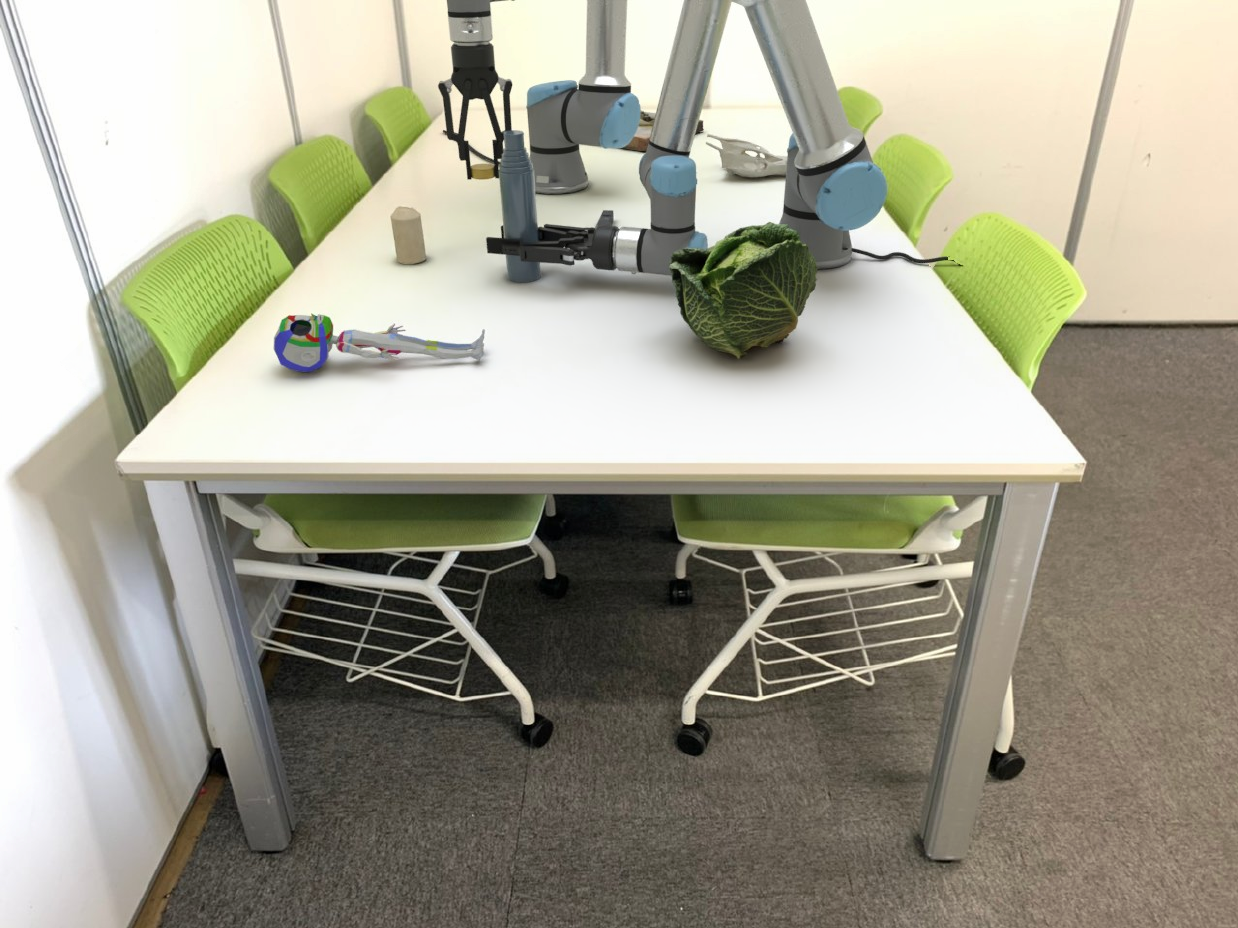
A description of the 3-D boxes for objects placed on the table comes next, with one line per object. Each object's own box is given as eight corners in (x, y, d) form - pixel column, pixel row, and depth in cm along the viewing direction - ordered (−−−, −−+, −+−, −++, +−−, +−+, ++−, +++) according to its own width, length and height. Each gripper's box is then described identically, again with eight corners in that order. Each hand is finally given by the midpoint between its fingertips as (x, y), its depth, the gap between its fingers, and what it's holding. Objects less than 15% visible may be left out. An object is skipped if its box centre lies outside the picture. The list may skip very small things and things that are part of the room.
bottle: (539, 269, 167) (529, 127, 153) (542, 281, 162) (533, 135, 148) (506, 271, 166) (494, 129, 153) (508, 283, 161) (496, 137, 148)
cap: (466, 176, 171) (465, 166, 170) (487, 172, 173) (486, 162, 172) (479, 181, 168) (478, 170, 167) (500, 177, 170) (499, 166, 169)
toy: (484, 341, 128) (264, 324, 124) (481, 394, 133) (269, 379, 128) (485, 314, 137) (280, 296, 132) (482, 364, 141) (284, 349, 136)
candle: (431, 256, 173) (424, 204, 168) (417, 265, 169) (409, 213, 164) (406, 253, 175) (399, 202, 170) (391, 262, 171) (383, 210, 165)
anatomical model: (708, 130, 224) (809, 129, 220) (707, 168, 229) (806, 167, 225) (703, 145, 212) (811, 144, 208) (703, 184, 216) (808, 183, 213)
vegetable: (704, 370, 145) (643, 264, 138) (800, 304, 147) (745, 195, 139) (754, 397, 127) (686, 277, 119) (863, 321, 128) (804, 197, 121)
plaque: (647, 125, 237) (559, 112, 252) (647, 153, 241) (560, 139, 256) (706, 107, 258) (622, 97, 273) (705, 133, 262) (622, 121, 277)
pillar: (613, 210, 190) (600, 241, 173) (613, 220, 191) (600, 251, 174) (603, 210, 190) (589, 240, 173) (603, 220, 191) (589, 251, 174)
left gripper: (420, 46, 154) (435, 184, 167) (522, 44, 156) (530, 180, 169) (422, 41, 161) (437, 174, 173) (520, 39, 163) (528, 170, 175)
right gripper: (602, 289, 150) (475, 277, 156) (632, 252, 166) (515, 242, 171) (601, 245, 146) (471, 235, 152) (632, 211, 162) (512, 203, 167)
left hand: (483, 177), depth 171 cm, fingers closed on cap, 4 cm apart
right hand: (495, 239), depth 162 cm, fingers closed on bottle, 6 cm apart
